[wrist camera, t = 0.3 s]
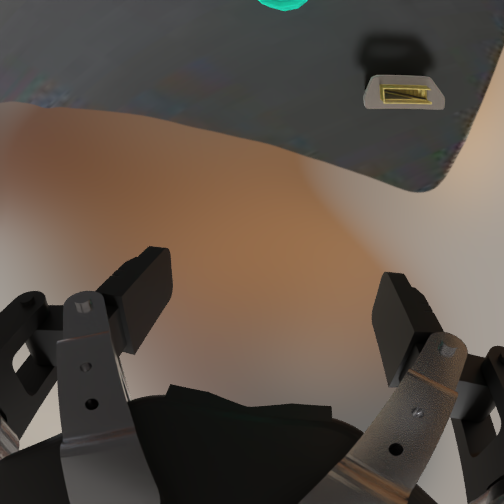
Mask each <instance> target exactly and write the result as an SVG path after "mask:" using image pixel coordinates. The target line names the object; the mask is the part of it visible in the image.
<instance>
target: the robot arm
mask: <svg viewBox="0 0 504 504" xmlns="http://www.w3.org/2000/svg"><path fill="white" fill-rule="evenodd" d="M172 288H173V281H172V269H171V256H170V251H169V249H168V248H161V247H153V246H149V247H148V248H147V249H146V250H145V251H144V252H142V253H141V254H140V255H139V256H138V257H135V258H133V259H131V260H129V261H127V262H125V263H124V264H123V265H122V266H121V267H120V268H119V269H118V270H116V271H115V272H114V273H113V274H112V276H110V277H109V278H108V279H107V280H106V281H105V282H104V283H103V284H102V285H101V286H100V287H99V288H98V289H97V290H96V291H83V292H79V293H76V294H74V295H72V296H70V297H69V298H68V299H67V300H66V301H65V303H64V305H48V304H47V301H46V298H45V295H44V294H43V293H42V292H38V291H30V292H26V293H24V294H22V295H20V296H18V297H17V298H15V299H14V300H13V301H12V302H11V303H10V304H9V305H8V306H7V307H6V308H5V309H4V310H3V311H2V312H0V504H437V503H436V502H435V501H434V500H433V499H432V498H431V497H430V496H429V495H428V494H427V493H426V492H425V491H424V490H422V488H421V487H419V486H418V485H417V484H416V483H417V482H418V480H419V478H420V476H421V474H422V472H423V471H424V469H425V467H426V465H427V463H428V462H429V460H430V458H431V456H432V454H433V452H434V450H435V448H436V445H437V444H438V442H439V439H440V437H441V435H442V433H443V431H444V428H445V426H446V424H447V421H448V419H449V417H451V420H452V425H453V428H454V433H455V437H456V441H457V445H458V450H459V455H460V460H461V465H462V470H463V476H464V482H465V488H466V495H467V502H468V504H504V347H502V346H494V347H492V348H491V349H490V350H489V352H488V354H487V356H486V357H485V358H484V357H480V356H475V355H471V354H468V350H467V347H466V345H465V344H464V343H463V341H462V340H461V339H459V338H458V337H456V336H455V335H452V334H450V333H447V332H444V331H443V329H442V327H441V325H440V323H439V322H438V320H437V318H436V316H435V314H434V313H433V312H432V309H431V307H430V306H429V304H428V302H427V300H426V298H425V297H424V295H423V294H421V293H420V292H419V291H418V290H417V289H416V288H413V287H411V285H410V283H409V282H408V280H407V278H406V276H405V275H404V274H401V273H392V272H384V274H383V275H382V278H381V281H380V285H379V289H378V292H377V296H376V299H375V303H374V306H373V310H372V325H373V328H374V332H375V335H376V339H377V343H378V346H379V350H380V354H381V358H382V362H383V366H384V369H385V374H386V377H387V382H388V387H397V389H396V390H395V391H394V393H393V395H392V396H391V397H390V399H389V400H388V402H387V403H386V405H385V406H384V407H383V409H382V410H381V412H380V413H379V414H378V416H377V417H376V418H375V420H374V421H373V422H372V424H371V425H370V426H369V428H368V429H367V430H366V431H365V433H363V432H362V431H361V430H359V429H357V428H356V427H354V426H352V425H350V424H348V423H346V422H343V421H340V420H338V419H334V418H332V408H331V406H318V405H303V404H284V405H283V404H282V405H271V406H259V407H246V406H243V405H240V404H238V403H235V402H232V401H230V400H227V399H224V398H222V397H219V396H217V395H214V394H212V393H209V392H205V391H200V390H195V389H190V388H186V387H181V386H176V385H172V384H170V386H169V389H168V391H167V393H166V395H152V396H146V397H141V398H138V399H134V400H132V399H131V396H130V393H129V389H128V386H127V383H126V379H125V376H124V372H123V369H122V365H121V361H120V358H119V356H120V354H121V353H122V352H126V353H129V354H134V355H135V353H136V352H137V350H138V349H139V347H140V345H141V344H142V342H143V341H144V339H145V337H146V336H147V334H148V333H149V331H150V330H151V328H152V326H153V325H154V323H155V322H156V320H157V319H158V317H159V315H160V314H161V312H162V311H163V309H164V308H165V306H166V305H167V303H168V302H169V300H170V298H171V295H172ZM24 343H26V345H27V347H28V349H29V352H30V356H29V357H28V358H27V359H26V361H25V362H24V363H23V365H22V366H21V367H20V368H19V369H18V371H17V372H16V373H15V371H14V369H13V366H12V361H13V357H14V355H15V354H16V352H17V351H18V350H19V349H20V348H21V347H22V345H23V344H24ZM56 381H58V397H59V409H60V418H61V427H62V433H60V434H58V435H56V436H54V437H51V438H49V439H47V440H44V441H42V442H40V443H37V444H35V445H32V446H30V447H27V448H25V449H22V450H20V451H19V440H20V438H21V437H22V435H23V433H24V432H25V430H26V428H27V427H28V425H29V424H30V422H31V420H32V419H33V417H34V415H35V414H36V412H37V410H38V409H39V407H40V406H41V404H42V403H43V401H44V400H45V398H46V396H47V395H48V393H49V392H50V390H51V389H52V387H53V386H54V384H55V383H56ZM495 406H496V407H497V410H498V413H499V415H500V418H501V429H500V432H499V434H498V435H496V432H495V429H494V426H493V423H492V420H491V417H490V413H491V411H492V410H493V409H494V408H495Z"/></svg>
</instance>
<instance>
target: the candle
mask: <svg viewBox="0 0 504 504" xmlns="http://www.w3.org/2000/svg"><path fill="white" fill-rule="evenodd" d="M258 1H259V2H261V3H262V4H264V5H266V6H269V7H271V8H275V9H279V10H283V11H287V10H292V9H298V8H299V7H300V6H302V5H303V4H304V3H306V2H307V1H308V0H258Z"/></svg>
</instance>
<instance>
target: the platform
mask: <svg viewBox="0 0 504 504" xmlns="http://www.w3.org/2000/svg"><path fill="white" fill-rule="evenodd" d="M363 98H364V105H365V107H366V108H367V109H435V110H442V109H444V107H445V97H444V96H443V94H442V93H441V91H440V90H439V89H438V87H437V86H436V84H435V83H434V82H433V80H432V79H431V78H429V77H427V76H410V75H375V76H373V77H371V79H370V81H369V84H368V86H367V88H366V89H365V93H364V96H363Z"/></svg>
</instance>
